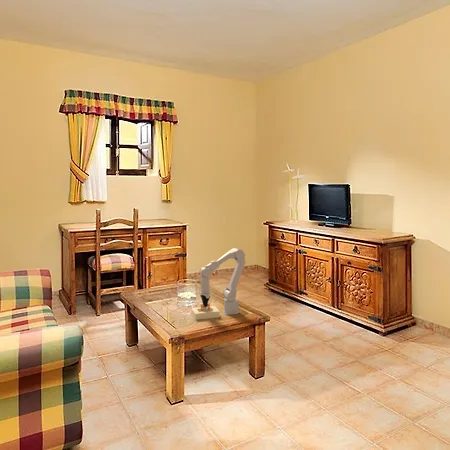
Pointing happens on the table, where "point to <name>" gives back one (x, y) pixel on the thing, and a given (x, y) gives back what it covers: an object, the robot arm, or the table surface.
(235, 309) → the robot arm
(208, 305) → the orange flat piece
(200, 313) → the cream frame with crossbar
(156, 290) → the table surface
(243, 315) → the table surface
